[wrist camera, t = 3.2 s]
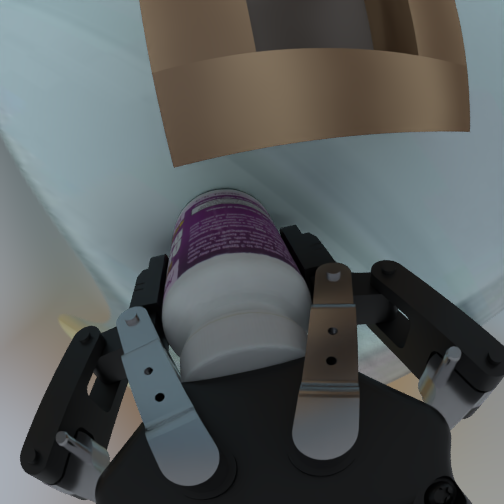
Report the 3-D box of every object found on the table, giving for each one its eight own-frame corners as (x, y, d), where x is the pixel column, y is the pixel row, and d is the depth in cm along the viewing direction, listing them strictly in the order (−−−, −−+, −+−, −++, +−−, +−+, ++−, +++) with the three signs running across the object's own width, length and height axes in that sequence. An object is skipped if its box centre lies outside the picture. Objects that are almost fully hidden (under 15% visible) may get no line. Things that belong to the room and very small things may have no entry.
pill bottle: (159, 202, 14) (117, 351, 6) (261, 175, 14) (346, 295, 6) (190, 285, 17) (195, 439, 9) (277, 263, 17) (339, 405, 9)
